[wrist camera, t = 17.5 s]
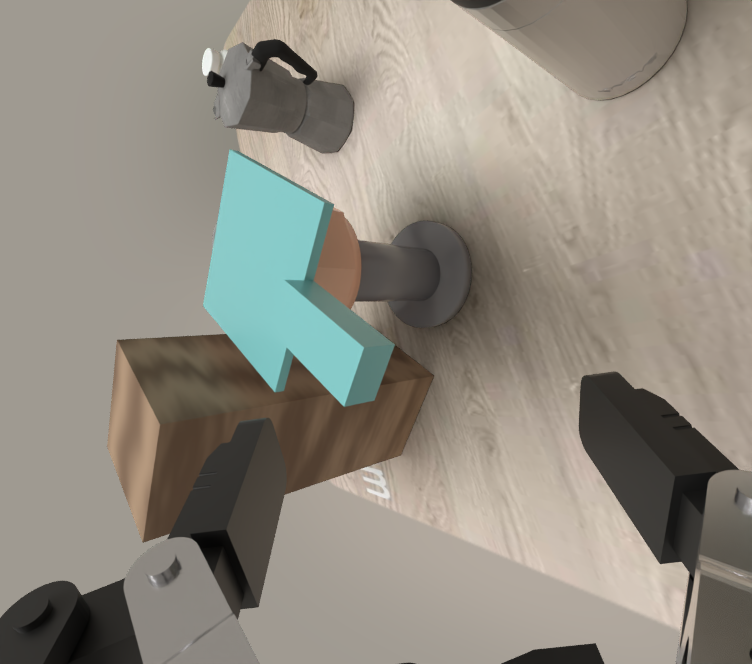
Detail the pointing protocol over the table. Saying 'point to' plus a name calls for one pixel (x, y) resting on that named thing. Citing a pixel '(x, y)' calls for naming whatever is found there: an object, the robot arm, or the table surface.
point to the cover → (286, 287)
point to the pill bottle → (213, 61)
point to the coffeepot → (281, 97)
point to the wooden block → (240, 419)
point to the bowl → (398, 270)
